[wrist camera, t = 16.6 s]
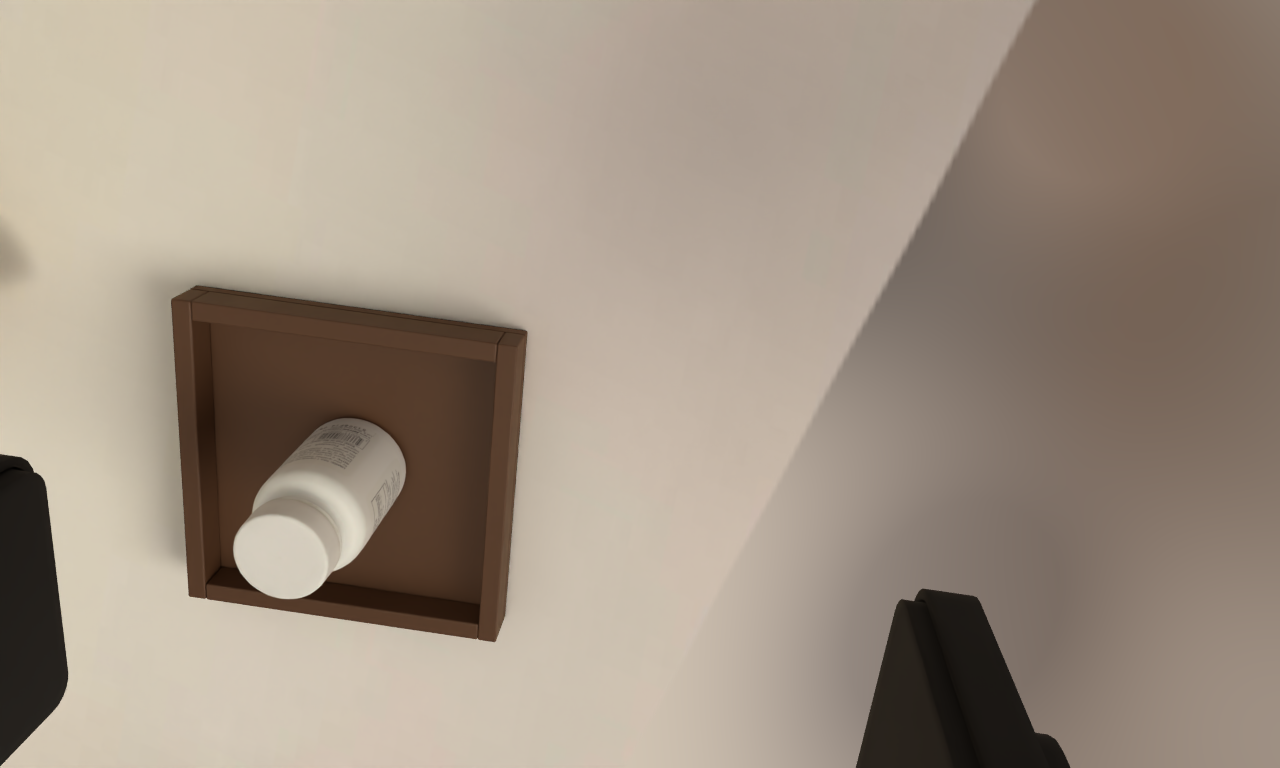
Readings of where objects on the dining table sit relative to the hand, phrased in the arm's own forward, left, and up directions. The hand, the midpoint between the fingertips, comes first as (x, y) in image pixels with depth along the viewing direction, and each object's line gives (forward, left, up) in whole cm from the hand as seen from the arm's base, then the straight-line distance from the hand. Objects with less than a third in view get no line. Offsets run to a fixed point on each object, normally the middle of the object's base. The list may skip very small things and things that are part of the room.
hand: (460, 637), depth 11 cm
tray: (+11, +13, -28) cm, 33 cm away
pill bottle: (+11, +13, -28) cm, 33 cm away
